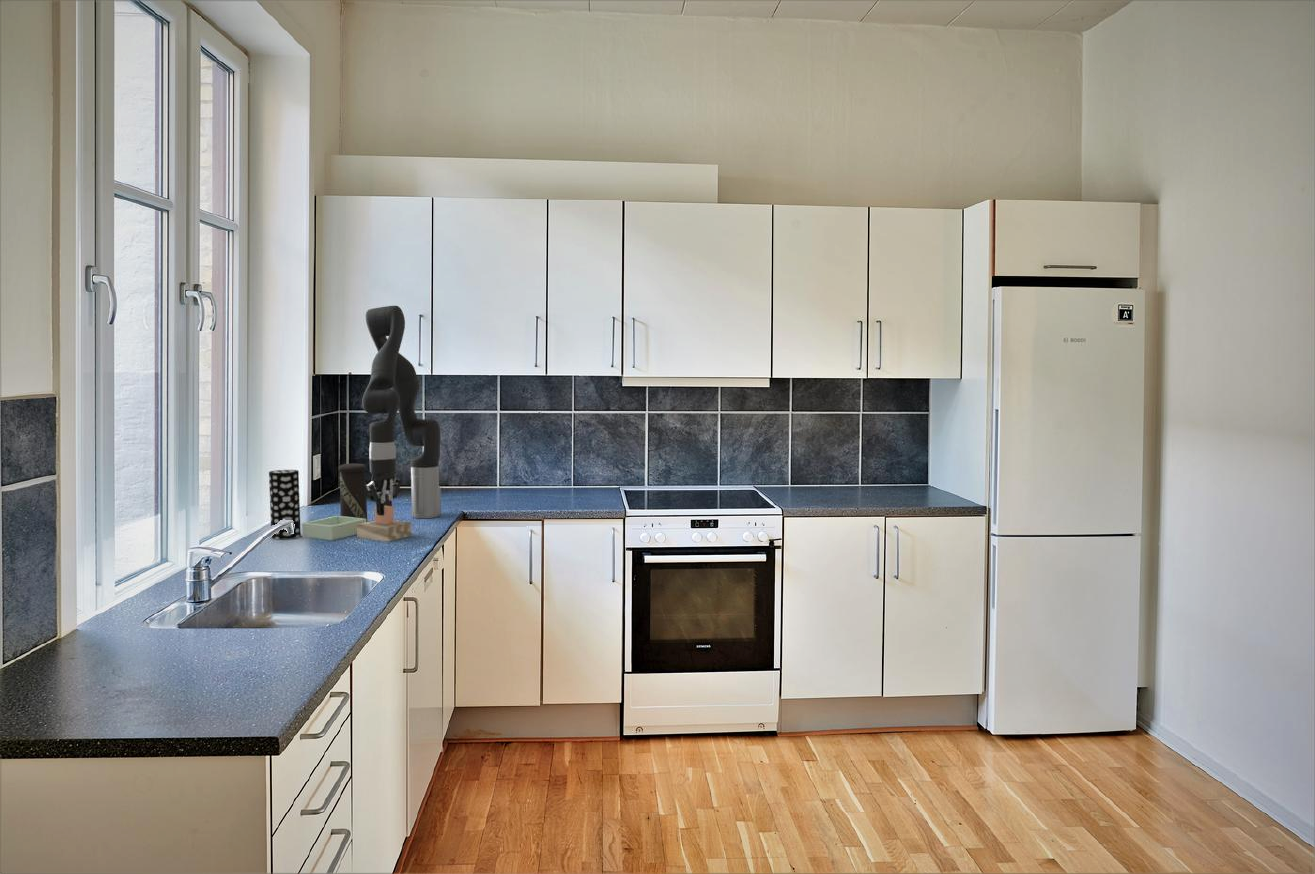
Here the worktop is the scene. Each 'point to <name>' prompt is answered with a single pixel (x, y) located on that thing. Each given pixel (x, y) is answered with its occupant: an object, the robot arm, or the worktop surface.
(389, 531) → the brown hollow flat block
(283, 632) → the worktop surface
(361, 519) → the bin
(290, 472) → the spotted tube
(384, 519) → the salmon orange block
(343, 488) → the container
